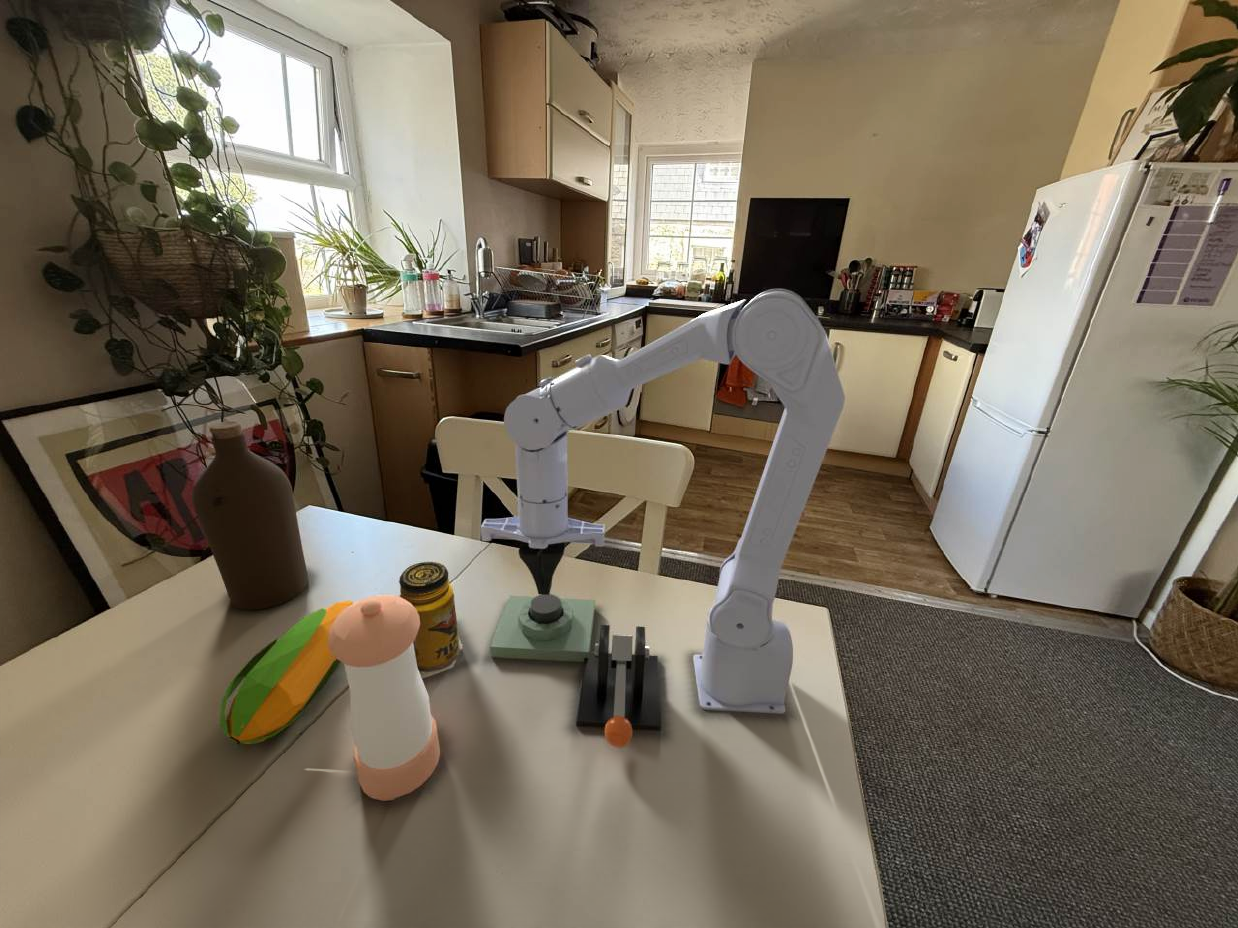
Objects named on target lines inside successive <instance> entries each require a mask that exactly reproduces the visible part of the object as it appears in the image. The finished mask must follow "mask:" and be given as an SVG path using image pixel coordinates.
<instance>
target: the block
mask: <svg viewBox="0 0 1238 928" xmlns="http://www.w3.org/2000/svg"><path fill="white" fill-rule="evenodd" d="M556 596H557V597H559V598H560V600H561V606H562V614H561V617H560V618H559V619H558V620H557V621H556V622H553V623H550V624H539V623H536V622H534V621H533V620H532V618H531V616H530V603H531V601H532V599H533V598H535V597H536V596H530V595H529V596H528V595H527V596H526V595H509V597H508V599H507V602H506V605H505V607H504V610H503V612H502V615H501V618H500V620H499V622H498V625H497V628H496V631H495V632H494V633H495V634H494V636H493V639H492V642H491V644H490V647H489V648H490V657H491V658H501V659H502V658H505V659H522V660H523V659H524V660H539V661H540V660H542V661H558V662H560V661H561V662H576V663H577V662H578V663H584V658H588V657H589V652H591V642H592V636H593V635H592V634H593V627H594V619H595V610H596V600H595V599H586V598H585V599H584V598H566V597H561V596H558V595H556Z"/></svg>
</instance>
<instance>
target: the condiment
mask: <svg viewBox="0 0 1238 928" xmlns="http://www.w3.org/2000/svg"><path fill="white" fill-rule="evenodd" d="M398 583H399V585H400V586H399V587H400V589H399V593H400V594H399V597H401V598H403V599H405V600H407V601H408V602H410V603H411V604H412V605H413V606H414V608H415V609H416V610H417V612H418V614H419V618H420V626H419V630H418V633H417V635H416V638H415V640H414V642H413V645H414V651H415V657H416V663H417V668H418V670H419V673H420V675H421V678H422V680H423V679H425V678H429V677H431V676H434V675H438V674H439V673H443V672H445V671H447V670H451V669H452V668H454V667H455V664H456V662H457V660H458V658H459V655H460V654H461V651H462V649H463V647H464V645H463V643H462V641H461V639H460V637H459V627H458V620H457V611H456V604H455V603H456V602H455V594H454V588H453V585H452V584H451V583H450V578H449V571H448V569H447V567H446V566H445V565H444V564H442V563H440V562H435V561H423V562H417V563H414V564H412V565H409V566H408V567H407V568H406V569H404V571H402V573H401V575H400V576H399V581H398Z"/></svg>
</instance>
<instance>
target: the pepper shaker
mask: <svg viewBox="0 0 1238 928" xmlns="http://www.w3.org/2000/svg"><path fill="white" fill-rule="evenodd" d="M399 596H400V595H399ZM399 596H398V595H392V594H378V595H374V596H368V597H365V598H363V599H361V600H358V601H355V602H353V604H352V605H350V606H349V607H347V608H345V609H344V610H343V611H342V612H341V613H340V614H339V615H338V616H337V618H336V620H335V621H334V623H333V625H332V626H331V628H330V630H329V639H328V647H329V649H330V651H331V653H332V654H333V655H334V657H335V658H336V659H338V660H339V661H340V663H343V665H344V670H345V674H346V678H347V683H348V687H349V693H350V731H351V735H352V739H353V742H354V744H355V745H354V747H353V762H354V766H355V770H356V774H357V778H358V783H359V785H360V787H361V789H362V791H363V793H364V794H365V795H367V796H368V797H369V798H371V799H374V800H378V801H380V802H381V801H382V802H386V801H394V800H395V799H397V798H399V797H402V796H405V795H408V794H410V793H412V792H413V791H415V790H416V789H418V788H420V787H421V786H422V785H423V784H424V783H425V782H426V781H427V780H428V779H429V778H430V777H431V776H432V774H433V773H434V771H435V769H436V767H437V766H438V764H439V760H440V755H441V749H440V740H439V735H438V734H439V733H438V726H437V721H436V720H435V718H434V717H433V715H432V714H431V703H430V695H429V694H428V691H427V689H426V685H425V683H424V680H423V679H422V678H421V675H420V673H419V670H418V668H417V663H416V657H415V651H414V645H413V642H414V640H415V638H416V635H417V633H418V630H419V626H420V618H419V614H418V612H417V610H416V609H415V608H414V606H413V605H412V604H411V603H410V602H408V601H407V600H405V599H403V598H401V597H399ZM336 659H335V660H336Z"/></svg>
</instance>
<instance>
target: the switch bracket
mask: <svg viewBox="0 0 1238 928" xmlns="http://www.w3.org/2000/svg"><path fill="white" fill-rule="evenodd" d="M610 627H611V626H610V624H600V630H599V641H598V643H595V644H594V651H593V652H592V651H590V652H589V657H588V658H584V662H583V665H582V674H581V681H580V689H579V695H578V696H579V697H578V704H577V710H576V719H575V727H585V728H587V727H588V728H604V729H605V726H606V723H607V722H608V721H609V719H611V718H612V717H614V700H615V680H616V668H611V657H612V652H610V629H611V628H610ZM634 641H635V642H634V643H635V644H634V654H633V653H632V664H631V669H626V692H625V718H626V719H628V720H629V722H630V723H631V726H632V730H639V731H640V730H641V731H642V730H643V731H656V732H657V731H659V732H661V731H662V712H661V692H660V674H659V658H658V657H659V656H658V655H653V654H652V655H651V654H650V646H646V626H636V627H635V639H634Z"/></svg>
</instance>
